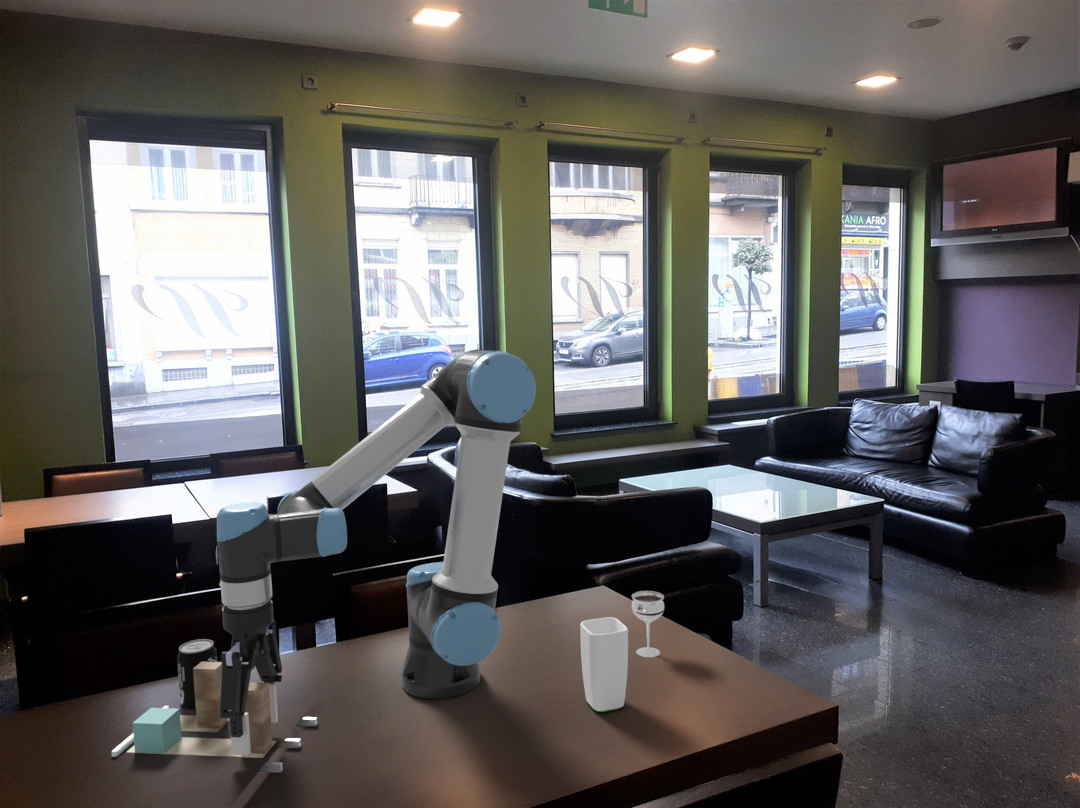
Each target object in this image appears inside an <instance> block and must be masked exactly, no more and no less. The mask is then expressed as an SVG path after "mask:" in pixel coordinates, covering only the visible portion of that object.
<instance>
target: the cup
mask: <svg viewBox="0 0 1080 808" xmlns="http://www.w3.org/2000/svg"><path fill="white" fill-rule="evenodd" d="M579 628H580V629H579V630H580V634H579V635H580V658H581V672H582V680H583V681H582V682H583V687H584V694H585V699H586V702H587V703H588V704H589V705H590V707H591V708H592V709H593V710H594V711H596V712H598V713H603V712H604V713H606V712H610V711H615V710H619V709H620V708H623V707H624V705H625V700H626V690H627V681H628V669H629V668H628V667H629V662H628V661H629V628H628V627H627V626H626V625H625V624H624V623H622V622H621V620H619V619H618V618H616V617H612V616H610V617H609V616H608V617H607V616H606V617H605V616H604V617H600V618H593V619H587V620H583V621H581V622H580V625H579Z"/></svg>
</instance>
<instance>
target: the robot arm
mask: <svg viewBox="0 0 1080 808" xmlns="http://www.w3.org/2000/svg"><path fill="white" fill-rule="evenodd" d="M420 387H421V388H420V393H419V394H418V395H417V396H416V397H414V398H413V399H412V400H411V401H410V402H408V403H407V404H406V405H405V406H403V407H402V408H401V409H399V410H398V411H397V412H396V413H394V414H393V415H392V416H391V417H390V418H388V419H387V420H385V422H383V423H382V424H381V425H380V426H379V427H377V428H376V429H374V430H373V431H371V433H369V434H368V435H367V436H366V437H365V438H363V439H362V440H361V441H360V442H358V443H357V444H355V446H353V447H352V448H351V449H349V450H348V451H347V452H346V453H344V454H343V455H342V456H340V457H339V458H338V459H337V460H336V461H334V462H333V463H332V464H331V465H329V466H328V467H327V468H326V469H325V470H323V471H322V472H321V473H319V474H318V475H316V477H315V478H313V479H312V480H311V481H310V482H308V483H307V484H305V485H304V486H303V487H302V488H301V489H299V490H294V491H291V492H289V493H287V494H286V495H284V496H283V497H282V498H281V500H280V502H279V503H278V506H277V512H276V514H272V513H271V514H270V513H269V512H268V509H267V506H266V505H265V504H264V503H262V502H240V503H232V504H229V505H226V506H225V507H222V508H221V509H220V510H218V512H217V514H216V543H217V554H218V557H217V558H218V567H219V578H220V580H219V581H220V582H219V583H218V585H219V587H220V591H221V592H220V593H221V603H222V604H223V606H222V608H221V613H222V628H223V630H224V631H225V632H228V633H229V634H230V635H231V636H232V638H231V645H230V650H228V651H222V652H221V654H220V662H222V684H221V704H220V718H229V719H230V720H229V729H230V730H229V732H230V739H231V748H232V754H233V755H249V754H250V753H251V747H250V731H249V716H248V713H245V708H246V701H247V695H248V688H249V682H251V681H250V680H251V674H252V670H254V669H256V671H257V674H258V677H259V678H260V681H261V683H269V697H270V713H271V724H276V723H278V722H279V714H278V713H279V712H278V710H279V709H278V698H277V697H278V696H277V683H281V682H282V680H283V675H281V674H282V671H283V665H282V660H281V653H280V650H279V649H280V648H279V644H278V640H277V638H278V637H277V632H276V631H277V630H276V629H277V628H276V627H277V626H276V622H277V621H276V620H274V605H273V600H272V599H271V598H273V585H272V573H271V564H272V563H278V562H285V561H295V560H301V559H310V558H319V557H323V558H325V557H327V556H331V555H332V556H333V555H337V554H341V553H343V552H344V551H345V550H346V548H347V545H348V531H347V529H348V528H347V522H346V516H345V513H344V511H343V510H344V509H345V508H346V507H348V506H349V505H350V504H351V503H352V502H354V501H355V500H356V499H357V498H358V497H360V496H361V495H362V494H364V493H365V492H366V491H367V490H369V489H370V488H371V487H372V486H373V485H375V484H376V483H377V482H379V481H380V480H381V479H382V478H383V477H384V476H386V475H387V474H388V473H390V472H391V471H393V469H394V468H396V467H397V466H398V465H399V464H401V463H402V462H403V461H405V459H407V458H408V457H409V456H410V455H411V454H413V453H414V452H416V451H417V450H418V449H419V448H421V447H422V446H423V445H424V444H425V443H426V442H427V441H429V440H431V438H433V437H434V436H435V435H436V434H438V433H439V432H440V431H441V430H442V429H444V428H445V427H447V426H452V427H455V428H456V429H457V430H458V431H459V433H460V443H459V444H460V445H459V450H458V456H457V457H458V458H457V464H456V471H455V478H454V486H453V491H452V492H453V493H452V500H451V507H450V513H449V514H450V515H449V521H448V527H447V535H446V540H445V542H446V543H445V549H444V557H443V561H437V562H430V563H424V564H420V565H417V566H414V567H412V568H411V569H409V570H408V572H407V575H406V584H405V587H406V593H407V594H406V598H407V600H406V601H407V614H408V615H407V616H408V617H407V619H408V640H409V641H408V642H409V643H408V644H409V645H408V648H407V652H406V654H405V655H406V656H405V659H404V663H403V666H402V669H401V686H402V689H403V691H405V692H406V693H408V694H409V695H410V696H414V697H417V698H421V699H430V700H437V699H447V698H453V697H457V696H458V697H459V696H460V695H463V694H466V693H468V692H470V691H471V690H473V689H475V687H477V686H478V685H479V684H480V682H481V667H480V662H481V661H483V660H484V659H486V657H488V656H489V655H491V654H492V653H493V652H494V650H495V649H496V648H497V646H498V644H499V641H500V639H501V634H502V622H501V620H500V617H499V615H498V612H497V611H496V604H497V598H498V597H497V596H498V590H499V584H498V582H497V581H496V580H495V578H494V577H493V576H492V570H493V564H494V556H495V548H496V543H497V535H498V529H499V522H500V521H499V520H500V514H501V508H502V502H503V494H504V487H505V482H506V481H505V480H506V475H507V474H506V473H507V467H508V466H507V465H508V460H509V452H510V445H511V442H512V440H514V439H515V438H516V437H518V435H520V434H521V431H522V424H523V417H524V416H525V415H526V414H527V413H528V412H529V411H531V408H532V406H533V405H534V402H535V398H536V391H537V387H536V380H535V377H534V374H533V372H532V370H531V369H530V367H529V366H528V365H527V363H526V362H525V361H524V360H523V359H521V358H520V357H518V356H516V355H514V354H511V353H510V352H505V351H503V350H485V349H472V350H468V351H465V352H463V353H461V354H459V355H458V356H456V357H454V359H452V360H451V361H449V363H448V364H446V365H445V366H444V367H443V368H442V369H440V370H439V371H438V372H437V373H435V374H434V375H433V376H432V377H431V378H430V379H428V380H427V381H426V382H425V383H422V385H421V386H420Z"/></svg>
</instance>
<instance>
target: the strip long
mask: <svg viewBox="0 0 1080 808" xmlns="http://www.w3.org/2000/svg"><path fill="white" fill-rule="evenodd" d="M245 713H248V716H249V731H250V747H251V753H250V754H249V755H233V754H232V748H231V738H214V737H213V738H212V737H209V738H208V737H187V736H186V737H185V736H182V737H181V738H180V739H179V740H178V741H177V742H176V743H175V744H174V745H173V746H172V747H171V748H170V749H169V750H168V751H167V752H166V753H164V754H163V755H176V756H177V755H178V756H179V755H180V756H181V755H182V756H184V755H185V756H202V757H203V756H209V757H228V758H229V757H231V758H254V759H259V758H260V759H262V758H264V757H265V756H266V755H267V753H268V752H269V751H270V749H271V748H273V746H274V745H275V744H276V742H277V740H273V733H272V723H271V713H270V697H269V683H264V682H262V681H261V682H260V681H259V682H258V681H257V682H254V681H249V688H248V695H247V701H246V708H245ZM126 753H129V754H131V753H132V754H136V753H135V747H134V745H133V746H131V747H129V749H128V750H127V751H126ZM151 754H155V755H156V754H157V755H159V753H151Z"/></svg>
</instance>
